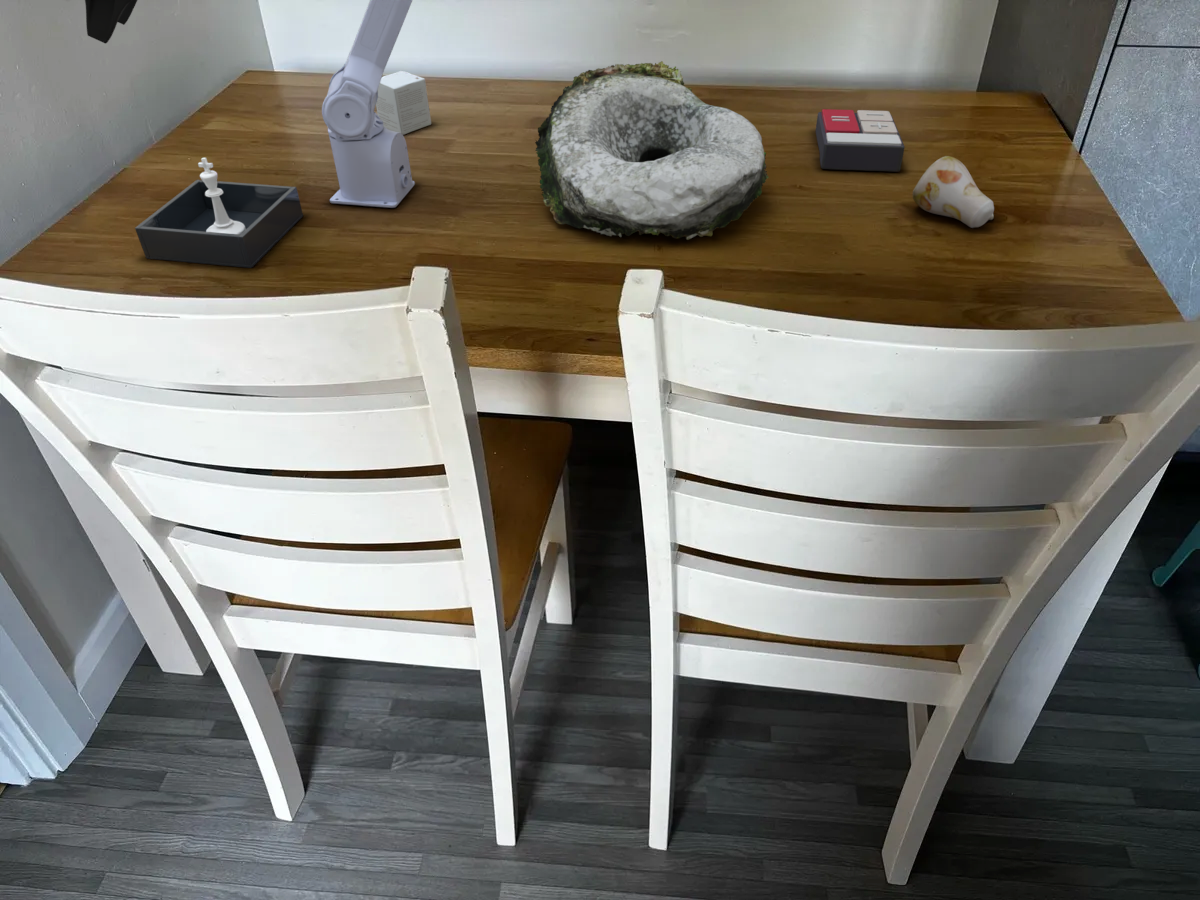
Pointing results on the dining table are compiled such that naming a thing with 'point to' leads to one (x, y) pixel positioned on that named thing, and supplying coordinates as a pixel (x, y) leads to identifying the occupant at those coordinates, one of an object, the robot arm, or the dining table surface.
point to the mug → (952, 193)
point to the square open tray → (192, 213)
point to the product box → (403, 102)
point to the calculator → (858, 140)
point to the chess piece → (218, 203)
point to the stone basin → (646, 155)
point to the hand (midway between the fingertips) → (106, 29)
